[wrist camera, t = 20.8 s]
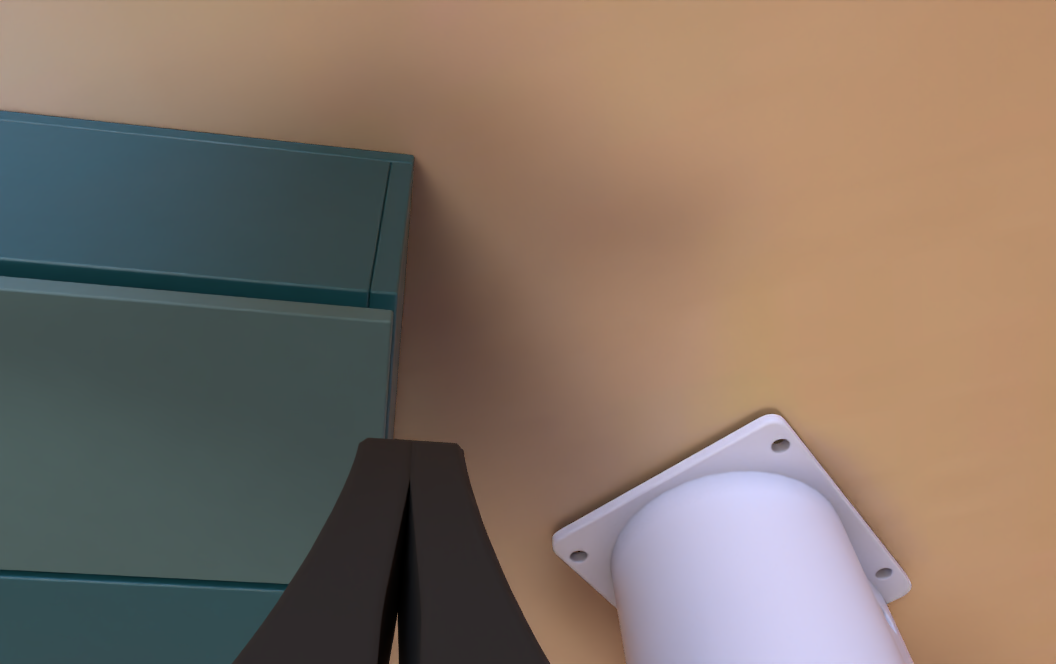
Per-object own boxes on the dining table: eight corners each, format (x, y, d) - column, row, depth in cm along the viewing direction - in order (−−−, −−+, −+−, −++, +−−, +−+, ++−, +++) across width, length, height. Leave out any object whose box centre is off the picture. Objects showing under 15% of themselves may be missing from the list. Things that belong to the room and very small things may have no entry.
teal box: (-202, 87, 20) (-470, 244, 14) (414, 154, 21) (395, 318, 16) (-60, 545, 27) (-196, 763, 22) (383, 568, 29) (362, 777, 23)
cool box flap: (-442, 236, 14) (-464, 248, 14) (393, 309, 16) (392, 322, 16) (-286, 539, 18) (-299, 555, 18) (375, 574, 20) (374, 589, 19)
